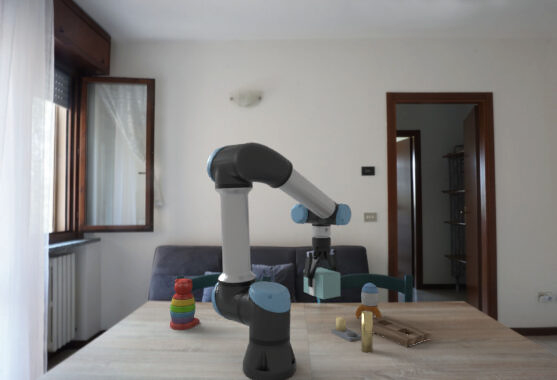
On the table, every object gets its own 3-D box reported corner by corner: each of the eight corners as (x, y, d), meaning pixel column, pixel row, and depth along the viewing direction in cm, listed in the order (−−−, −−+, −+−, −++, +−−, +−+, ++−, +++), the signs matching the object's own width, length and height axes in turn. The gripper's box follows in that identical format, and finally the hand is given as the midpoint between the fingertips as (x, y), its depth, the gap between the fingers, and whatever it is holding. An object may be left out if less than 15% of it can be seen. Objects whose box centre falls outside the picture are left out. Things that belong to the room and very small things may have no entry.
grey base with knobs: (349, 341, 121) (349, 326, 121) (331, 332, 130) (331, 318, 130) (361, 338, 124) (361, 323, 124) (343, 329, 132) (343, 315, 133)
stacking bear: (201, 321, 140) (201, 275, 141) (192, 330, 130) (192, 281, 131) (174, 320, 142) (175, 275, 142) (163, 329, 131) (164, 281, 132)
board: (407, 347, 117) (407, 339, 117) (363, 328, 134) (363, 321, 134) (430, 340, 123) (430, 332, 123) (385, 322, 140) (385, 316, 140)
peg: (367, 353, 112) (366, 314, 112) (359, 349, 115) (359, 311, 115) (375, 351, 114) (374, 313, 114) (366, 347, 117) (366, 310, 117)
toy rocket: (386, 324, 141) (381, 288, 139) (359, 328, 141) (354, 293, 139) (378, 312, 151) (374, 278, 149) (354, 316, 151) (348, 283, 149)
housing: (323, 299, 135) (322, 275, 135) (303, 291, 146) (303, 269, 146) (340, 296, 140) (340, 272, 140) (320, 288, 151) (320, 267, 151)
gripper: (305, 239, 135) (305, 299, 134) (347, 235, 146) (348, 291, 145) (293, 237, 141) (294, 294, 141) (335, 234, 152) (336, 287, 152)
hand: (321, 293), depth 143 cm, fingers closed on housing, 9 cm apart
